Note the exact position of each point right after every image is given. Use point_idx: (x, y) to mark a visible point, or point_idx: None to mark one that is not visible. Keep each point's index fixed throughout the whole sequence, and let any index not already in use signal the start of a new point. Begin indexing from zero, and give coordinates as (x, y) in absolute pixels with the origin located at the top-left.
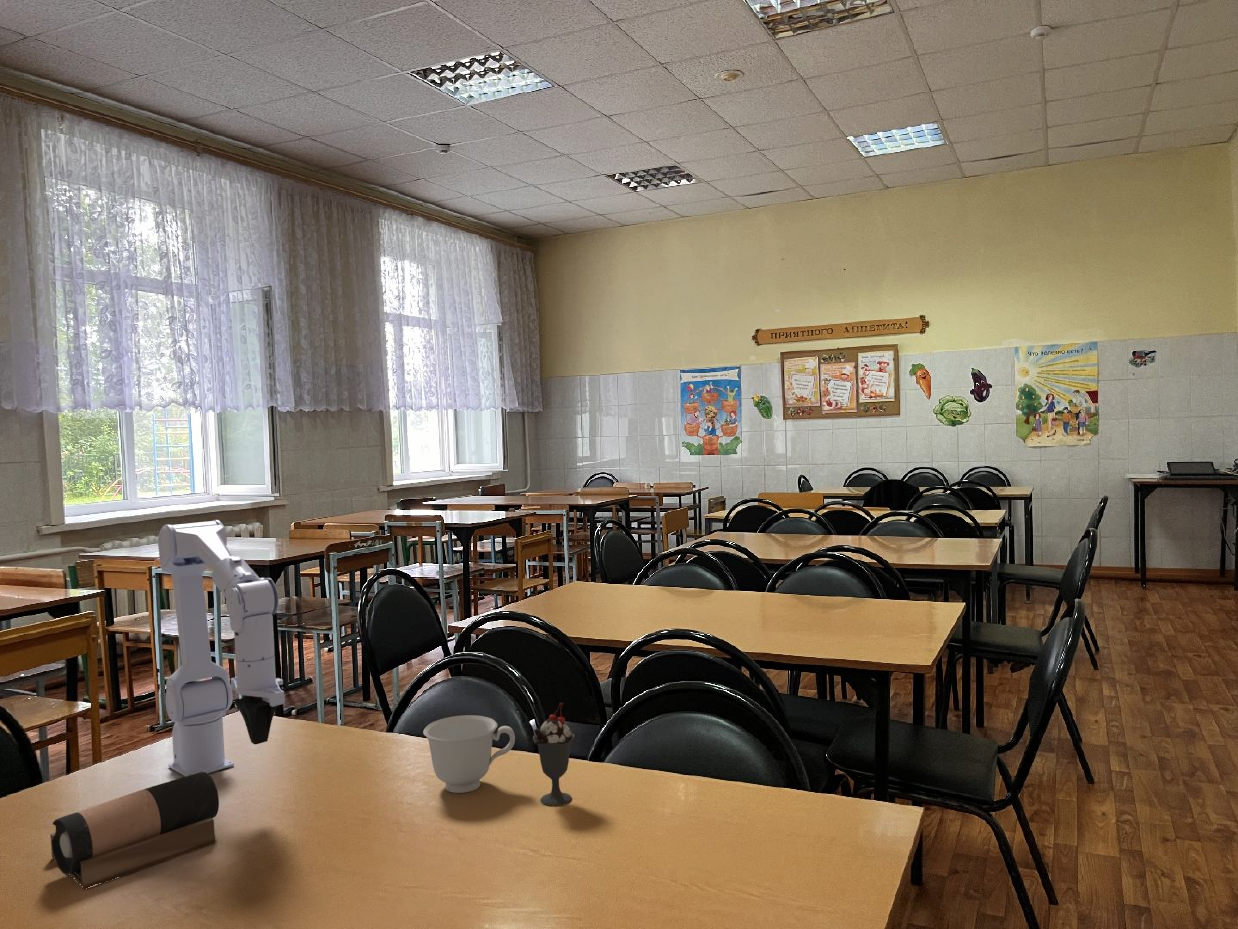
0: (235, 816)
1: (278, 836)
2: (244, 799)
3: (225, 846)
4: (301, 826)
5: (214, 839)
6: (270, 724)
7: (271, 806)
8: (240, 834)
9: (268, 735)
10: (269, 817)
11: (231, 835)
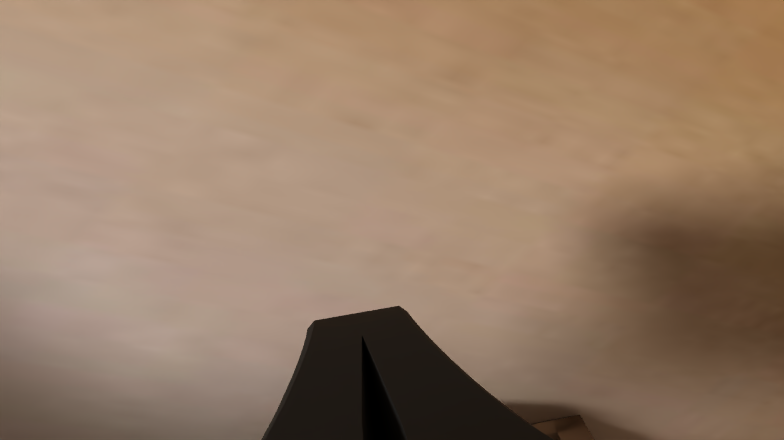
0: (348, 292)
1: (736, 194)
2: (130, 203)
3: (638, 387)
4: (729, 72)
5: (587, 428)
6: (488, 392)
7: (351, 112)
8: (574, 318)
9: (420, 328)
10: (493, 165)
11: (553, 349)
